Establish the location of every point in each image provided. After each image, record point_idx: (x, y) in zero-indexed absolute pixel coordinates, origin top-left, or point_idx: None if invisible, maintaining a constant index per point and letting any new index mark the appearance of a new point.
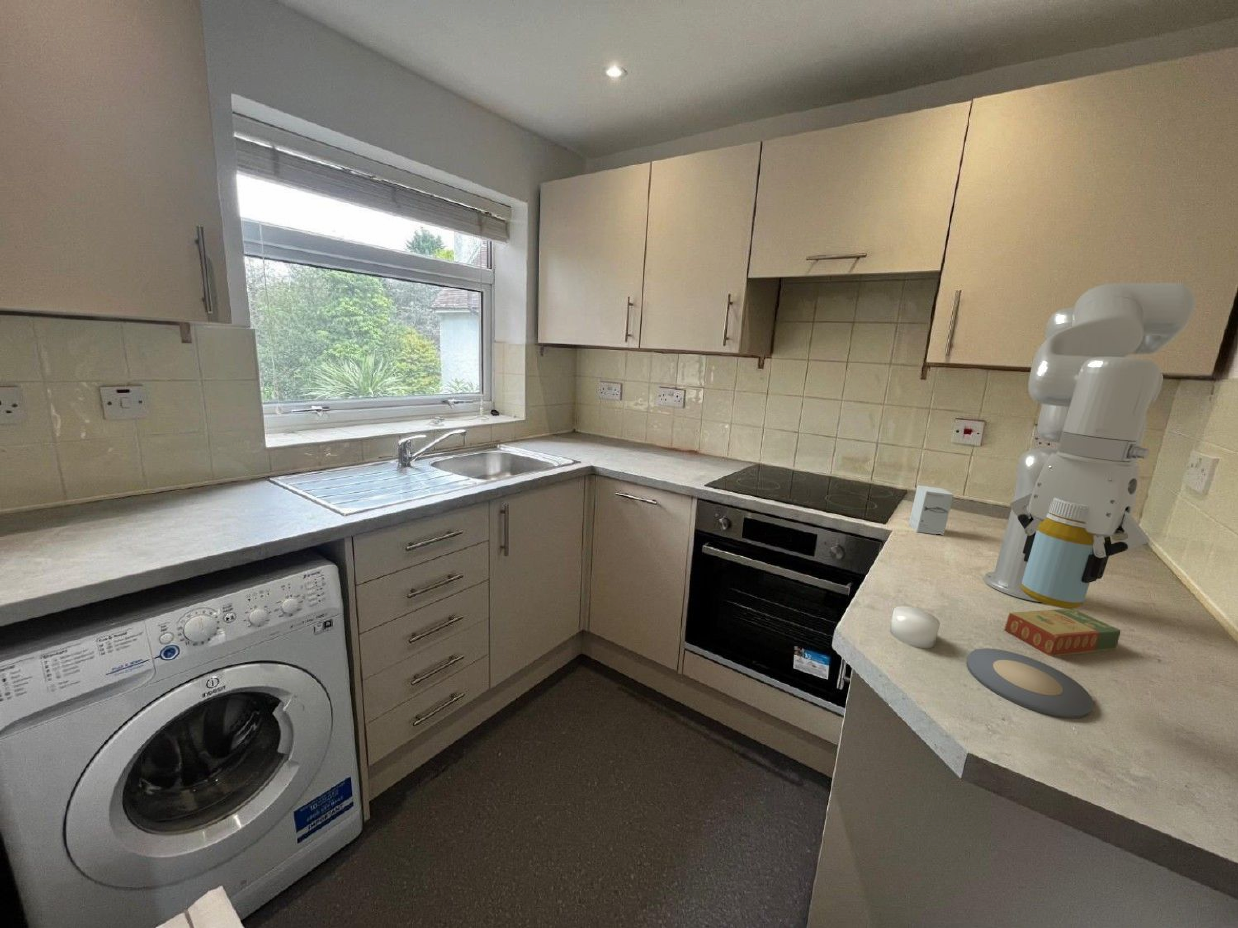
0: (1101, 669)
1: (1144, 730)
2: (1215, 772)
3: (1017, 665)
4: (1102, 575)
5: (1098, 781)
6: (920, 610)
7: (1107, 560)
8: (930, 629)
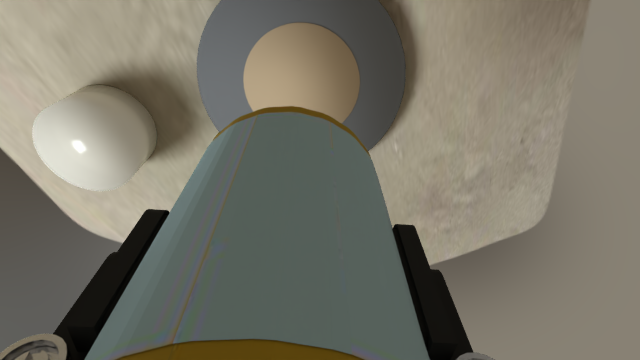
0: None
1: (478, 28)
2: (564, 55)
3: (271, 55)
4: (440, 276)
5: (439, 230)
6: (56, 109)
7: (469, 344)
8: (138, 164)
